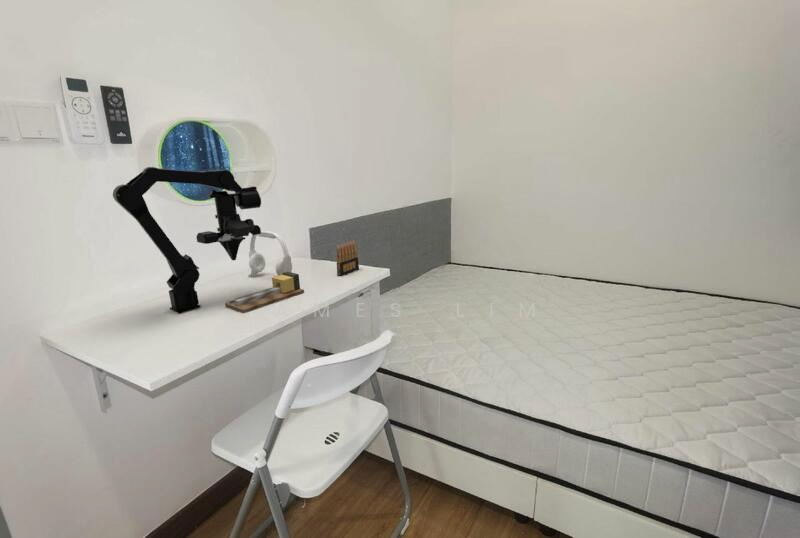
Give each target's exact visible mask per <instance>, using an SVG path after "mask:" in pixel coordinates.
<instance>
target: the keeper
mask: <svg viewBox="0 0 800 538" xmlns="http://www.w3.org/2000/svg"><path fill="white" fill-rule="evenodd" d="M271 281H272V283H271V284H272V287H273V288H276V287H279V286H280V287H281V292H283V293H286V292H289V291H292V290H295V289H294V280H293V277H290V276H286V275H279V276H278V275H277V276H273V277H271Z"/></svg>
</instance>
